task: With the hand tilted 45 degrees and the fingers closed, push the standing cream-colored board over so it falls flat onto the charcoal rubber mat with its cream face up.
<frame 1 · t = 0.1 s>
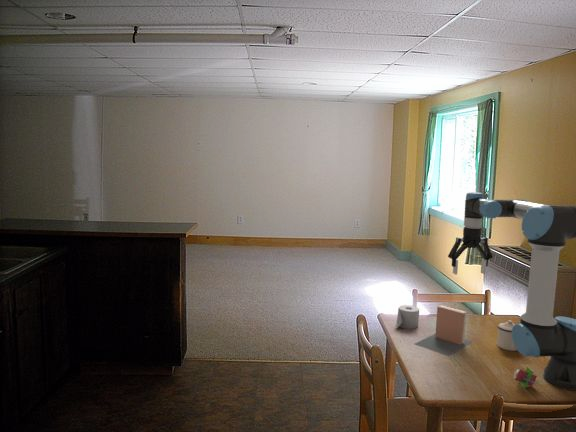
hand: (469, 273, 224), 28 cm above the table, tool pointing down, fingers open, 13 cm apart
teacup with lid: (507, 346, 214), on the table
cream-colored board: (449, 339, 218), resting on mat
toilet tissue: (405, 326, 235), on the table
geometric puzzle: (525, 387, 178), on the table
mat: (443, 343, 215), on the table
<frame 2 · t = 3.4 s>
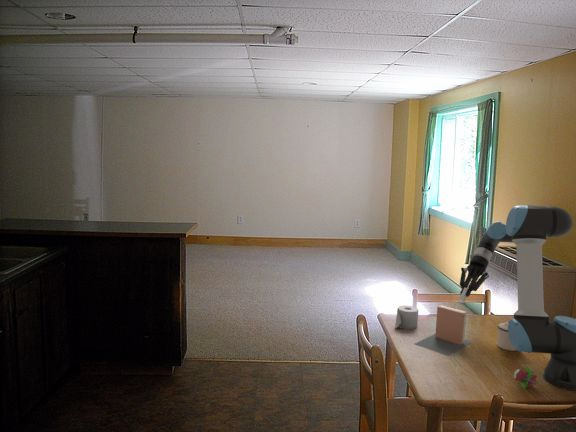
hand: (461, 301, 222), 16 cm above the table, tool tilted 45°, fingers closed
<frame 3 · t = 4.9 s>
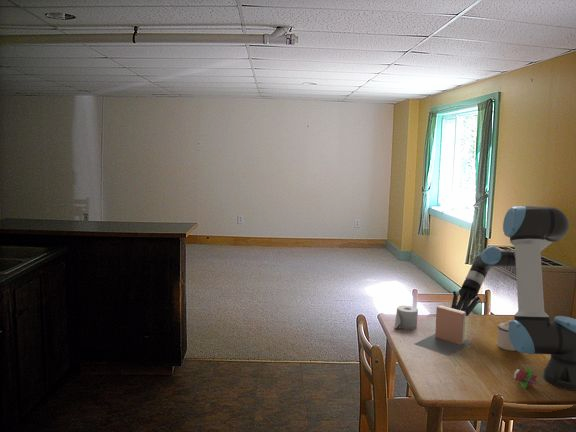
hand: (452, 326, 219), 6 cm above the table, tool tilted 45°, fingers closed
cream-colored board: (449, 339, 218), resting on mat, touching gripper
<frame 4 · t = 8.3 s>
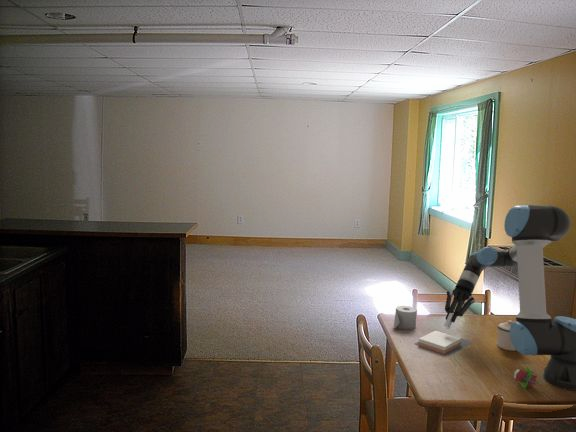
hand: (446, 327, 215), 7 cm above the table, tool tilted 45°, fingers closed
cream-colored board: (447, 337, 217), point 2 cm above the table, tilted 90°, touching mat
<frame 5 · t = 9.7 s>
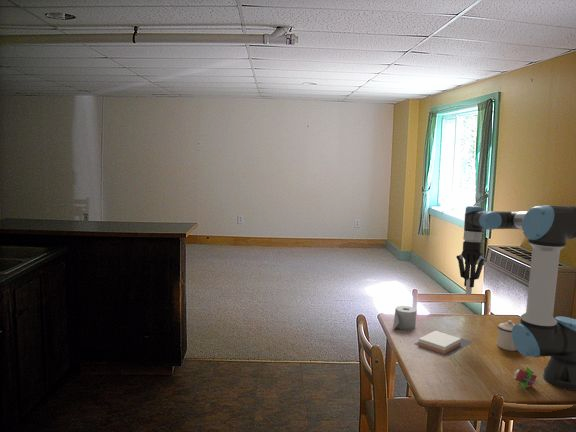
hand: (468, 294, 221), 20 cm above the table, tool pointing down, fingers closed
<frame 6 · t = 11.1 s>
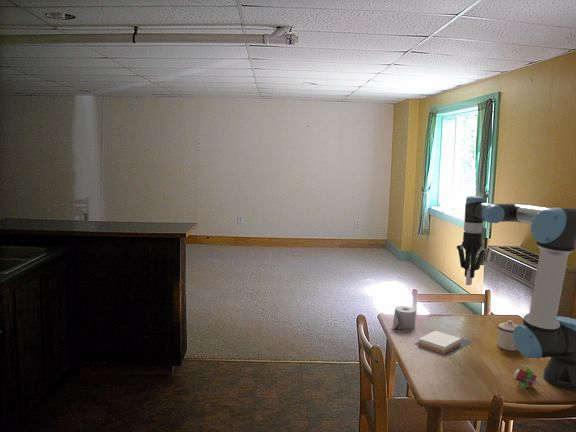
hand: (468, 284, 219), 24 cm above the table, tool pointing down, fingers closed
at the end: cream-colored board tilted 90°; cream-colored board 3.3 cm from the mat (horizontally); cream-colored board point 1.9 cm above the table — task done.
